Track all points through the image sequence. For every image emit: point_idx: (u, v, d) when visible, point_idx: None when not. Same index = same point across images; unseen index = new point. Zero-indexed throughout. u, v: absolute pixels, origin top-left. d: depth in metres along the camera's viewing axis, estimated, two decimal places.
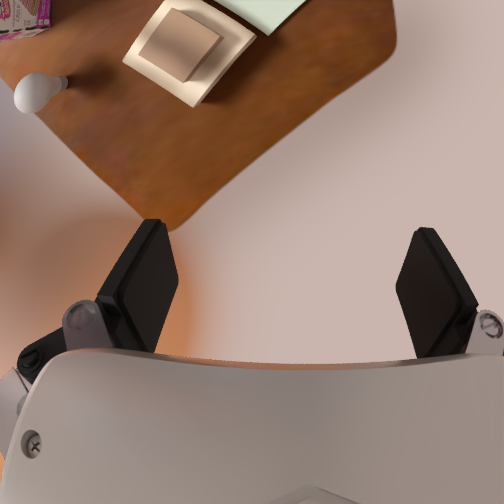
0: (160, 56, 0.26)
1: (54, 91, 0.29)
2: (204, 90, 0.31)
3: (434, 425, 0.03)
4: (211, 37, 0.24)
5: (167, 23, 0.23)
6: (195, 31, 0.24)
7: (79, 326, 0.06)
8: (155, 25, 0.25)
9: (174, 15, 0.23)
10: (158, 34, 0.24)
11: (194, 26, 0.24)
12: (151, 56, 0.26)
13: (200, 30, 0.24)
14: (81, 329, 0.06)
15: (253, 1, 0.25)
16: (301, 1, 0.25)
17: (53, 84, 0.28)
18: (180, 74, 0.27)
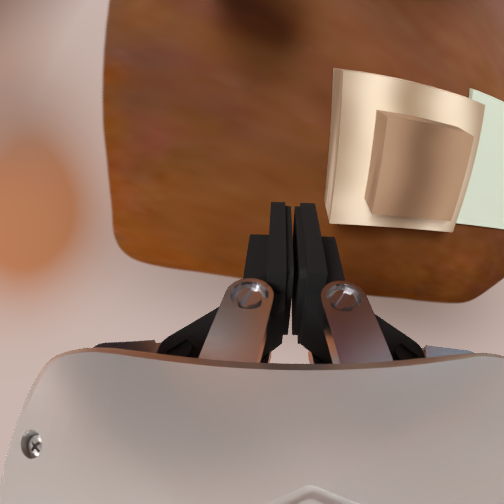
0: (399, 159, 0.16)
1: None
2: (361, 223, 0.22)
3: (434, 425, 0.03)
4: (446, 212, 0.18)
5: (451, 142, 0.15)
6: (449, 189, 0.17)
7: (242, 303, 0.07)
8: (426, 101, 0.15)
9: (464, 146, 0.15)
10: (431, 136, 0.15)
11: (455, 183, 0.16)
12: (393, 143, 0.16)
13: (452, 194, 0.17)
14: (242, 308, 0.07)
15: (475, 185, 0.22)
16: (487, 225, 0.24)
17: None
18: (382, 204, 0.18)
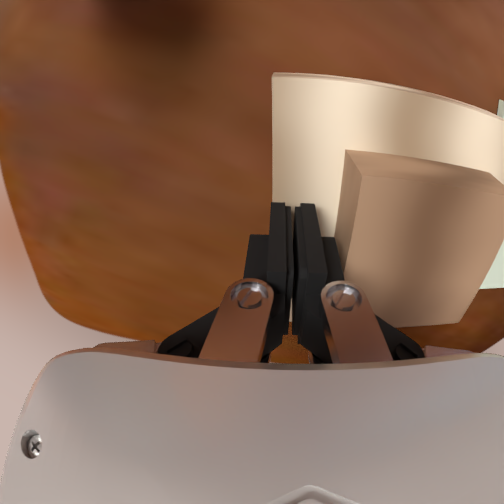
0: (382, 251, 0.09)
1: None
2: None
3: (434, 425, 0.03)
4: (454, 314, 0.11)
5: (482, 213, 0.08)
6: (465, 284, 0.10)
7: (242, 303, 0.07)
8: (438, 128, 0.08)
9: (501, 218, 0.08)
10: (449, 207, 0.08)
11: (476, 275, 0.10)
12: (373, 226, 0.09)
13: (468, 290, 0.10)
14: (242, 308, 0.07)
15: None
16: (502, 285, 0.17)
17: None
18: None
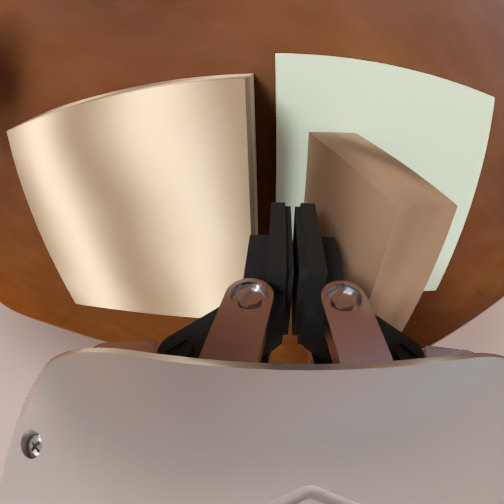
0: None
1: None
2: (105, 306, 0.16)
3: (434, 425, 0.03)
4: None
5: None
6: None
7: (242, 303, 0.07)
8: (103, 126, 0.10)
9: None
10: None
11: None
12: None
13: None
14: (242, 308, 0.07)
15: None
16: None
17: None
18: None
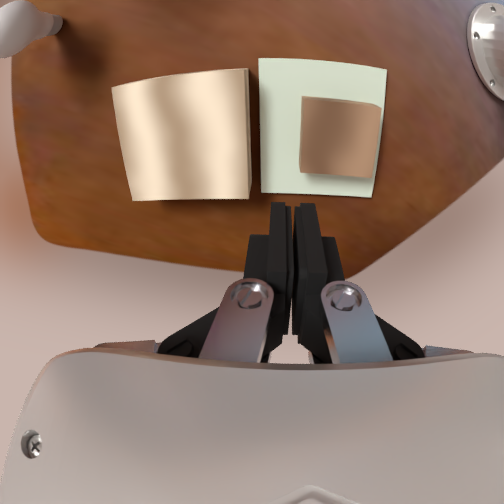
0: None
1: (33, 40, 0.16)
2: (155, 198, 0.28)
3: (434, 425, 0.03)
4: None
5: None
6: None
7: (242, 303, 0.07)
8: (177, 88, 0.21)
9: None
10: None
11: None
12: None
13: None
14: (242, 308, 0.07)
15: (288, 151, 0.27)
16: (324, 192, 0.30)
17: (37, 34, 0.15)
18: None
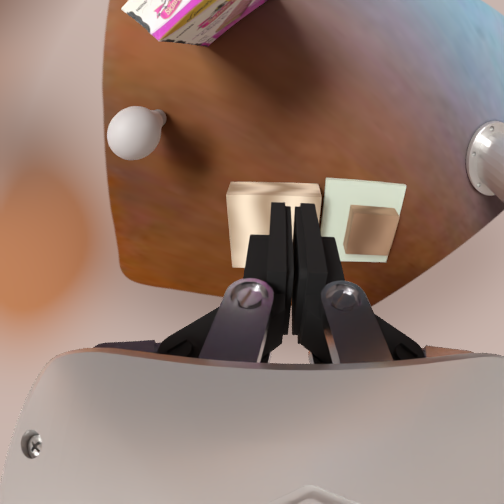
0: None
1: None
2: None
3: (434, 425, 0.03)
4: None
5: None
6: None
7: (242, 303, 0.07)
8: None
9: None
10: None
11: None
12: None
13: None
14: (242, 308, 0.07)
15: (337, 237, 0.43)
16: (356, 260, 0.45)
17: None
18: None
